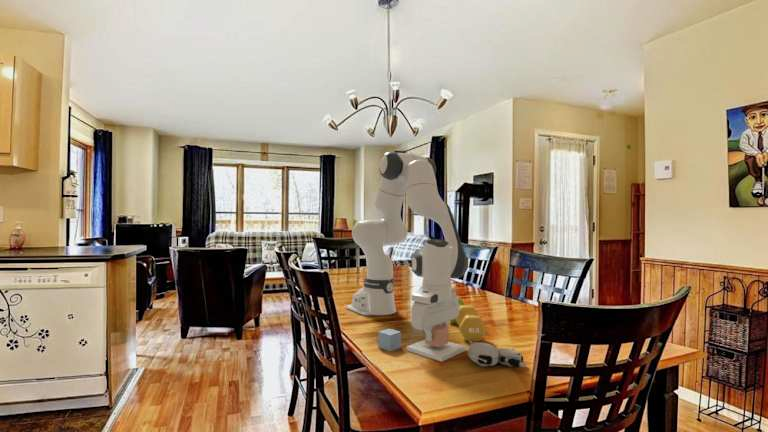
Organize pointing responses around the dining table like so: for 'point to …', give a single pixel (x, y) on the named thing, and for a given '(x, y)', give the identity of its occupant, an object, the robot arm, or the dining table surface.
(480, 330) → the dumbbell
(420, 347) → the plate
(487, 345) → the robot toy
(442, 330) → the brick terracotta
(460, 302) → the dumbbell
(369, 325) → the dining table surface
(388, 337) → the brick blue
